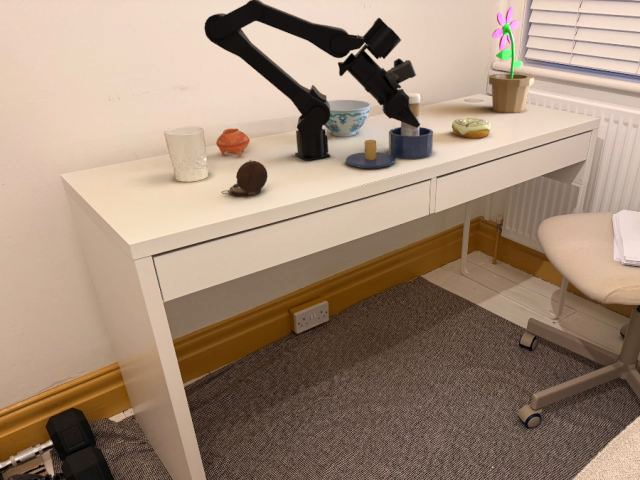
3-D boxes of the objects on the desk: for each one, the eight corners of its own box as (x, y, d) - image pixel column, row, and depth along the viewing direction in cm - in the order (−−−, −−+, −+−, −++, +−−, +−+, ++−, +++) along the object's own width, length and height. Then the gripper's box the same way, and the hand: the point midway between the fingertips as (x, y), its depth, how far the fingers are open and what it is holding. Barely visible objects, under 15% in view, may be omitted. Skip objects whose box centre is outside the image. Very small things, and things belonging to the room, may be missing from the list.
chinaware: (331, 142, 145) (330, 112, 141) (308, 131, 156) (306, 103, 153) (381, 135, 152) (380, 106, 148) (355, 125, 163) (354, 98, 159)
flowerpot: (505, 103, 191) (514, 6, 177) (539, 110, 181) (552, 7, 167) (477, 109, 183) (484, 7, 169) (511, 116, 173) (522, 8, 159)
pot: (259, 153, 135) (250, 127, 131) (231, 166, 132) (221, 140, 127) (244, 146, 140) (235, 120, 136) (217, 158, 137) (207, 133, 133)
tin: (405, 161, 129) (405, 138, 127) (381, 152, 137) (380, 130, 134) (440, 154, 134) (441, 132, 132) (415, 145, 142) (415, 124, 139)
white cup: (172, 184, 115) (162, 136, 111) (173, 173, 122) (164, 127, 117) (211, 181, 117) (203, 133, 112) (210, 170, 124) (203, 125, 119)
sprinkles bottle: (413, 148, 138) (414, 91, 131) (422, 152, 134) (423, 94, 128) (397, 150, 136) (397, 92, 130) (405, 154, 133) (406, 96, 126)
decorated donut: (460, 140, 146) (461, 126, 145) (445, 131, 155) (446, 117, 154) (496, 137, 149) (498, 123, 147) (479, 128, 158) (480, 115, 156)
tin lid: (362, 173, 121) (362, 150, 119) (337, 161, 130) (336, 139, 127) (405, 164, 127) (405, 142, 124) (378, 154, 135) (377, 132, 133)
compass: (253, 185, 114) (248, 150, 111) (270, 195, 109) (266, 158, 105) (216, 193, 110) (210, 156, 107) (232, 204, 105) (226, 166, 101)
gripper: (399, 51, 116) (449, 105, 122) (390, 43, 132) (434, 91, 138) (362, 92, 119) (413, 142, 125) (358, 79, 135) (402, 124, 141)
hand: (416, 123), depth 132 cm, fingers open, 6 cm apart
